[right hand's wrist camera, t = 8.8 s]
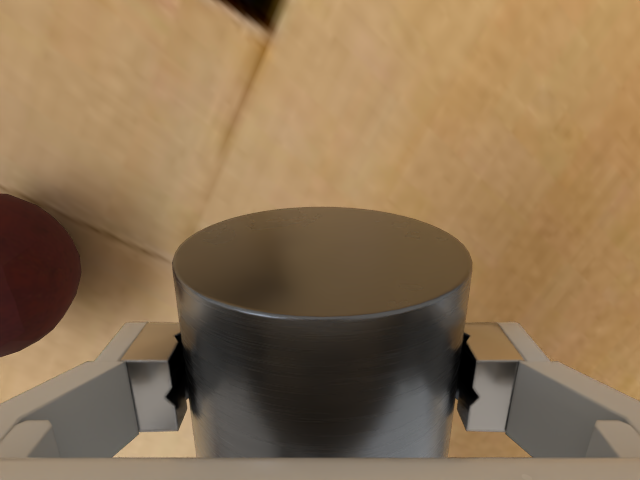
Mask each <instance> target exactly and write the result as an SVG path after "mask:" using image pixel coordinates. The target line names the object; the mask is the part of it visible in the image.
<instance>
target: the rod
mask: <svg viewBox="0 0 640 480" xmlns="http://www.w3.org/2000/svg"><path fill="white" fill-rule="evenodd" d="M172 266H173V277H174V284H175V292H176V300H177V308H178V316H179V324H180V332H181V339H182V347H183V355H184V363H185V371H186V379H187V387H188V394H189V402H190V410H191V418H192V426H193V434H194V442H195V449H196V457H197V458H447V457H448V449H449V442H450V434H451V427H452V419H453V411H454V404H455V396H456V389H457V381H458V373H459V366H460V358H461V351H462V343H463V336H464V328H465V320H466V313H467V305H468V298H469V290H470V283H471V275H472V260H471V257H470V254H469V252H468V250H467V249H466V248H465V246H464V245H463V244H462V243H461V242H460V241H459V240H458V239H456V238H455V237H453V236H452V235H450V234H449V233H447V232H445V231H443V230H441V229H439V228H437V227H435V226H432V225H430V224H427V223H424V222H421V221H419V220H416V219H412V218H408V217H405V216H401V215H396V214H391V213H386V212H380V211H374V210H366V209H356V208H341V207H302V208H287V209H277V210H270V211H263V212H257V213H252V214H247V215H243V216H239V217H235V218H231V219H228V220H225V221H222V222H219V223H216V224H214V225H211V226H209V227H207V228H204V229H202V230H201V231H199V232H197V233H195V234H194V235H192V236H191V237H189V238H188V239H186V240H185V241H184V242H183V243H182V244H181V245H180V246H179V248H178V249H177V251H176V252H175V255H174V259H173V262H172Z"/></svg>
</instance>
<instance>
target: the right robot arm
mask: <svg viewBox="0 0 640 480" xmlns="http://www.w3.org/2000/svg"><path fill="white" fill-rule="evenodd" d="M188 398H189V394H188V387H187V379H186V371H185V363H184V355H183V347H182V339H181V332H180V324H179V323H175V322H128V323H125V324H124V325H123V326H122V328H121V329H120V330H119V331H118V332H117V334H116V335H115V336H114V337H113V339H112V340H111V341H110V342H109V343H108V345H107V346H106V347H105V348H104V350H103V351H102V352H101V353H100V355H99V356H98V357H97V358H96V359H95V361H87V362H85V363H83V364H81V365H79V366H77V367H75V368H73V369H71V370H68V371H66V372H64V373H62V374H60V375H58V376H56V377H54V378H52V379H50V380H48V381H46V382H44V383H42V384H40V385H38V386H36V387H34V388H32V389H30V390H28V391H26V392H24V393H21V394H19V395H17V396H15V397H13V398H11V399H9V400H7V401H5V402H3V403H1V404H0V480H640V401H638V400H636V399H634V398H632V397H630V396H628V395H626V394H624V393H622V392H620V391H618V390H616V389H613V388H611V387H609V386H607V385H605V384H603V383H601V382H599V381H597V380H595V379H593V378H591V377H589V376H587V375H585V374H583V373H581V372H578V371H576V370H574V369H572V368H570V367H568V366H566V365H564V364H562V363H560V362H558V361H550V360H549V359H548V357H547V356H546V355H545V354H544V353H543V351H542V350H541V349H540V348H539V347H538V345H537V344H536V343H535V342H534V341H533V339H532V338H531V337H530V336H529V335H528V333H527V332H526V331H525V330H524V329H523V327H522V326H521V325H520V324H519V323H517V322H486V323H465V328H464V336H463V343H462V351H461V358H460V366H459V373H458V381H457V389H456V396H455V398H456V399H457V400H458V404H457V410H458V413H459V415H460V417H461V420H462V422H463V424H464V427H465V429H466V431H485V432H506V433H505V434H506V435H507V436H509V437H510V438H511V439H512V440H513V441H514V442H515V443H517V444H518V445H519V446H520V447H521V448H522V449H524V450H525V451H526V452H527V453H528V454H529V455H531V456H532V457H533V458H112V457H113V456H114V455H115V454H117V453H118V452H119V451H120V450H121V449H122V448H123V447H125V446H126V445H127V444H128V443H129V442H130V441H132V440H133V439H134V438H135V437H136V436H137V435H138V434H139V432H158V431H178V430H179V428H180V425H181V423H182V420H183V418H184V415H185V413H186V411H187V403H186V400H187V399H188Z"/></svg>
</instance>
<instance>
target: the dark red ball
mask: <svg viewBox="0 0 640 480" xmlns="http://www.w3.org/2000/svg"><path fill="white" fill-rule="evenodd" d="M80 276H81V264H80V256H79V254H78V251H77V249H76V247H75V245H74V242H73V240H72V239H71V237H70V236H69V234H68V233H67V231H66V230H65V229H64V227H62V226H61V225H60V224H59V223H58V222H57V221H56V220H55V219H54V218H53V217H52V216H51V215H50V214H48V213H47V212H46V211H44V210H43V209H41V208H40V207H39V206H37V205H35V204H32V203H29V202H27V201H24V200H22V199H19V198H16V197H14V196H11V195H9V194H0V357H3V356H6V355H9V354H12V353H15V352H18V351H20V350H22V349H24V348H26V347H28V346H30V345H31V344H33V343H35V342H37V341H39V340H40V339H41V338H43V337H44V336H45V335H47V334H48V333H49V332H50V331H52V330H53V329H54V328H55V326H56V325H57V324H58V323H59V321H60V320H61V319H62V318H63V316H64V315H65V313H66V311H67V310H68V308H69V306H70V305H71V303H72V301H73V299H74V297H75V295H76V292H77V289H78V285H79V281H80Z"/></svg>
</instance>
